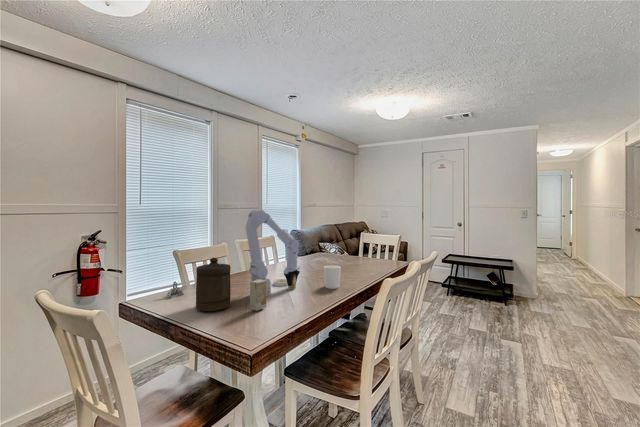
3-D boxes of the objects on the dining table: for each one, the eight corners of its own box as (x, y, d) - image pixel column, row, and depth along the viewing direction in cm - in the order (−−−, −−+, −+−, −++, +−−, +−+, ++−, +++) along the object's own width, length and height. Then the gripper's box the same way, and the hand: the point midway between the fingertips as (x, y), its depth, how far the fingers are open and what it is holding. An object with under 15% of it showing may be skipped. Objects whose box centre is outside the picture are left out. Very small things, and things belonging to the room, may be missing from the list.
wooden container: (236, 302, 140) (236, 256, 140) (219, 312, 126) (219, 261, 125) (208, 300, 143) (208, 255, 143) (188, 310, 129) (188, 259, 128)
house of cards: (176, 292, 158) (176, 278, 158) (186, 294, 154) (186, 280, 154) (160, 296, 150) (160, 281, 150) (170, 299, 146) (170, 283, 146)
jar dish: (291, 283, 176) (291, 279, 176) (286, 287, 168) (286, 283, 168) (277, 282, 179) (277, 278, 179) (271, 286, 170) (271, 282, 170)
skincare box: (256, 311, 127) (256, 282, 127) (249, 309, 130) (249, 281, 130) (266, 307, 133) (266, 280, 133) (259, 305, 135) (259, 278, 135)
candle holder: (320, 288, 164) (321, 267, 164) (327, 284, 173) (327, 264, 173) (337, 290, 161) (337, 268, 161) (343, 286, 170) (343, 265, 170)
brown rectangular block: (296, 288, 165) (296, 274, 164) (293, 290, 161) (293, 275, 161) (290, 288, 165) (290, 274, 165) (287, 290, 162) (287, 275, 162)
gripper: (292, 257, 171) (292, 281, 171) (278, 261, 158) (278, 286, 158) (302, 258, 168) (302, 282, 169) (290, 262, 155) (290, 288, 155)
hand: (291, 284), depth 163 cm, fingers closed on brown rectangular block, 4 cm apart
